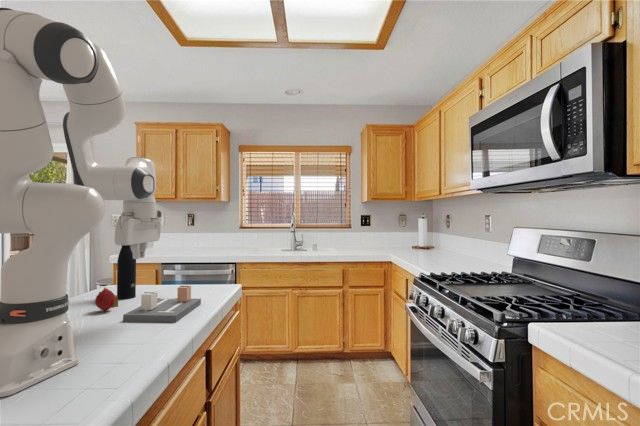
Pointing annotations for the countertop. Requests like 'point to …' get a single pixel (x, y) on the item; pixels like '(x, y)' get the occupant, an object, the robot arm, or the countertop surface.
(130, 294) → the wine bottle
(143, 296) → the block
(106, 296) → the onion
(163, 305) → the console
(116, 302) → the medication box
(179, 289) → the fader
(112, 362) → the countertop surface
